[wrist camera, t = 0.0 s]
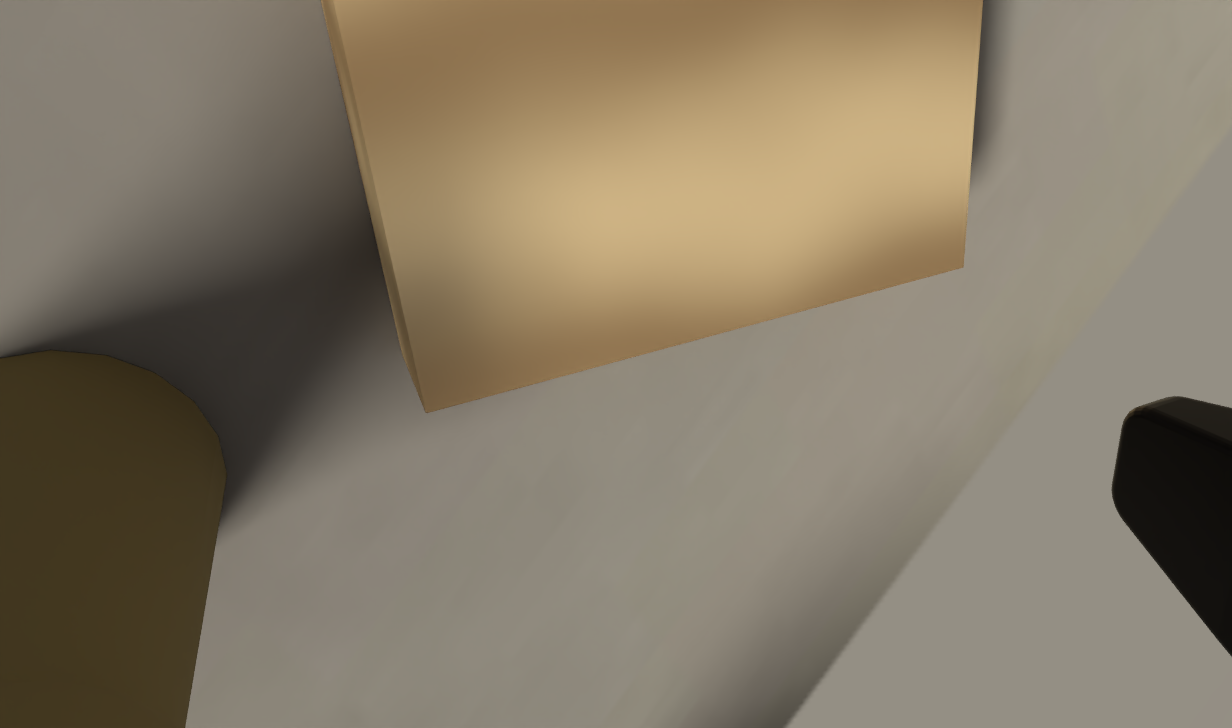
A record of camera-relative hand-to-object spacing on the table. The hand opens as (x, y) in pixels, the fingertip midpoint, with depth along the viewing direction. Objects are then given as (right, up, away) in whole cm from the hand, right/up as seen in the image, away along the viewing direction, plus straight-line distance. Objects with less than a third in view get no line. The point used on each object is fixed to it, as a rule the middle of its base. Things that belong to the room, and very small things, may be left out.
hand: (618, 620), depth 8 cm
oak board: (0, +9, +13) cm, 16 cm away
